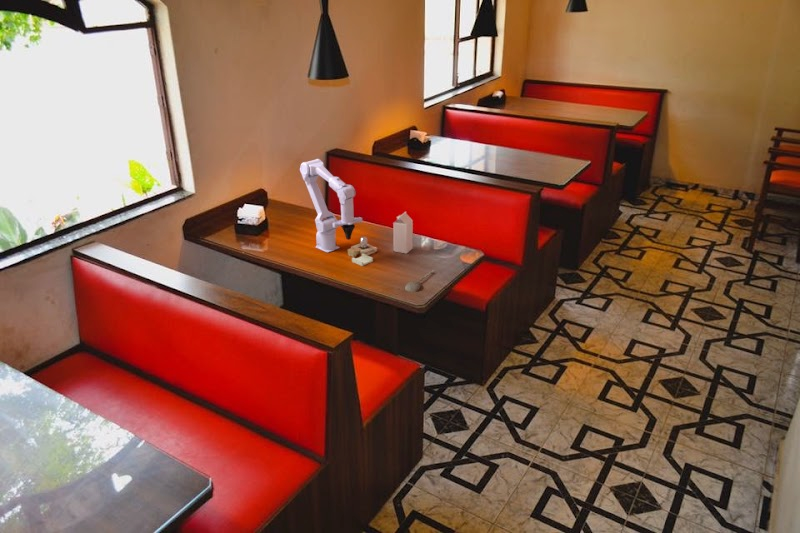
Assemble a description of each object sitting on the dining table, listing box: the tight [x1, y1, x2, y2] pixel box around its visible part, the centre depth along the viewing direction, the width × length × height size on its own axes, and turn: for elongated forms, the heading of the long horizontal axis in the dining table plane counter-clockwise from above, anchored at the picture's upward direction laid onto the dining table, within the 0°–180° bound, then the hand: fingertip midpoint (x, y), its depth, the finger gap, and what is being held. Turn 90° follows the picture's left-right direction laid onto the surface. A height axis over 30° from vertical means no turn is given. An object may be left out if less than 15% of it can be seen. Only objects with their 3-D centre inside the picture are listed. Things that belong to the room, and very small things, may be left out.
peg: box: [360, 236, 368, 250], centre depth 306 cm, size 3×3×7 cm
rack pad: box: [351, 254, 374, 267], centre depth 296 cm, size 7×7×2 cm
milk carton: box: [392, 211, 414, 254], centre depth 304 cm, size 7×7×19 cm
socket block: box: [350, 242, 378, 256], centre depth 307 cm, size 10×8×2 cm
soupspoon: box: [404, 269, 436, 293], centre depth 277 cm, size 22×3×7 cm
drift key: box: [347, 247, 362, 258], centre depth 303 cm, size 4×6×3 cm, turn 136°
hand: (348, 238), depth 297 cm, fingers closed
